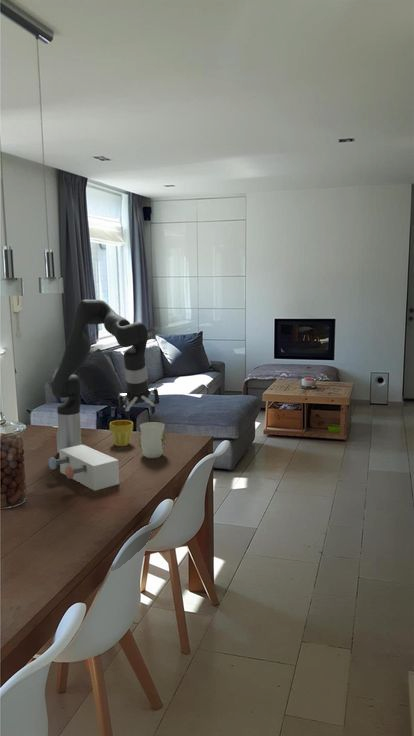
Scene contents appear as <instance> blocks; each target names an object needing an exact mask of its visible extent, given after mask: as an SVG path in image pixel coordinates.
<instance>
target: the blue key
mask: <svg viewBox="0 0 414 736" xmlns="http://www.w3.org/2000/svg"><path fill="white" fill-rule="evenodd" d="M68 462H69V457H65V458H61V459H60V458H58V459H56V458H55V457H54V456H52V457H48V466H49V468H50V470H55V469H57V466H60V464H64V463H68Z"/></svg>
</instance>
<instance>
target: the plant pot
mask: <svg viewBox="0 0 414 736" xmlns="http://www.w3.org/2000/svg"><path fill="white" fill-rule="evenodd" d="M133 430H134V422H133V421H132V420H129V419H120V420H119V419H118V420H113V421H110V423H109V431H110V432H111V436H112V440H113V444H114V445H115V446H117V447H124V446H128V445H130V441H131V436H132V431H133Z"/></svg>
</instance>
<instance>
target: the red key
mask: <svg viewBox="0 0 414 736" xmlns="http://www.w3.org/2000/svg"><path fill="white" fill-rule="evenodd" d="M84 471H86V466H85V465H84V466H80V467H76V468H72V467H71V466H66V468H65V473H66V475H65V476H66V478H67V479H72V478H73V476H74V474H76V473H80V472H84Z"/></svg>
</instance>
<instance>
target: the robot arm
mask: <svg viewBox="0 0 414 736" xmlns="http://www.w3.org/2000/svg"><path fill="white" fill-rule="evenodd" d="M100 324H101V325H102V324H103V327H104V329H105V330H106V331H107V332H108V333H109V334H110V335H112V336H113V337H114V338H115V340H116V341H117V344H118V345H119V346H120V347H122V348H128V349H126V350H125V351H124V353H123V362H124V377H125V386H126V392H125V393H122V392H119V393H118V395H117V397H118V408H119V410H120V411H121V412H123V411H124V414H125V418H126V419H127V420H131V412H130V409H131V407H133V405H134V404H135V405H136V404H142V403H144V402H146V403H147V404H148V405H149V410H150V414H151V415H153V416H154V414H155V413H156V405H159V404H160V398H159V391H158V387H157V386H153V387H152V388H149V382H148V380H149V379H148V370H147V367H146V356H145V353H146V350H147V349H146V348H147V343H148V338H149V337H148V336H149V332H148V329H147V326H146V325H145V324H144V323H143V322H141V321H136V322H132V323H131V322H130V321H129V320H127V319H126V318H125V317H123V316H120V315H119V314H118V313H116V312H115V311H114V309H113V308H112V307H111V306H110V305H109V304H108V303H107V302H106V301H104V300H101V299H82V300H80V301H79V303H78V304H77V306H76V311H75V316H74V319H73V325H72V329H71V332H70V334H69V338H68V340H67V342H66V346H65V349H64V352H63V356H62V359H61V362H60V364H59V367H58V369H57V371H56V373H55V375H54V376H53V380H52V384H51V392H52V395H53V396H54V397H55V398H58V399H60V398H61V399H63V398H67V399H66V401H64V402H63V403H61V404H59V405H58V406H57V409H56V411H57V412H56V413H57V425H58V426H57V428H58V429H57V430H56V432H55V433H56V447H57V449H56V450H57V453H58V454H59V449H64V448H69V447H73V446H78V445H82V433H81V432H82V430H81V410H80V409H81V389H82V388H81V387H82V386H81V380H80V378H79V376H78V375H77V374H74V373H75V372H77V371H78V370H79V369H81V367H83V366H84V364H86V361H87V359H88V357H89V354H90V351H91V343H90V340H89V338H88V336H87V335H86V332H85V329H86V327H87V326H88V325H100ZM151 394H152V395H153V397H154V399H152V398H151V397H150V395H151ZM126 398H127V400H126V402H125V404H124V401H125V399H126Z"/></svg>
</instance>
